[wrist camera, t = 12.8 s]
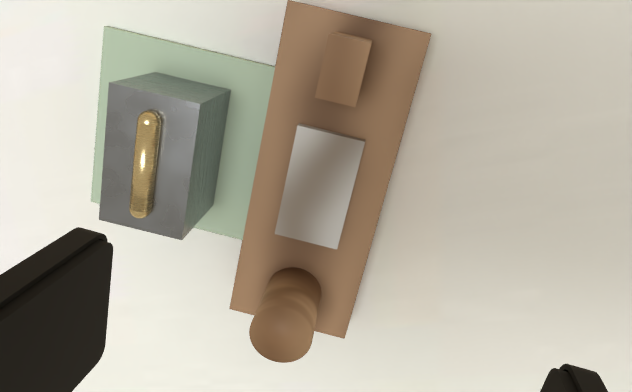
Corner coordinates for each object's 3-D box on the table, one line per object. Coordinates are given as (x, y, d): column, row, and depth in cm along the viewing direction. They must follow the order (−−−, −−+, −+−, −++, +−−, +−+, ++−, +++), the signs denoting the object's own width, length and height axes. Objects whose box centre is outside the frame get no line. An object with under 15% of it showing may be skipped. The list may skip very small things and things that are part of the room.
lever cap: (231, 89, 33) (194, 106, 26) (213, 205, 35) (176, 246, 29) (155, 71, 33) (100, 84, 26) (143, 188, 35) (90, 225, 29)
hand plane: (426, 32, 31) (441, 36, 23) (347, 314, 37) (338, 388, 30) (296, 1, 31) (269, -5, 23) (240, 287, 38) (206, 353, 30)
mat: (290, 70, 32) (289, 71, 32) (256, 240, 36) (255, 243, 36) (107, 26, 33) (103, 26, 32) (94, 199, 37) (91, 201, 36)
